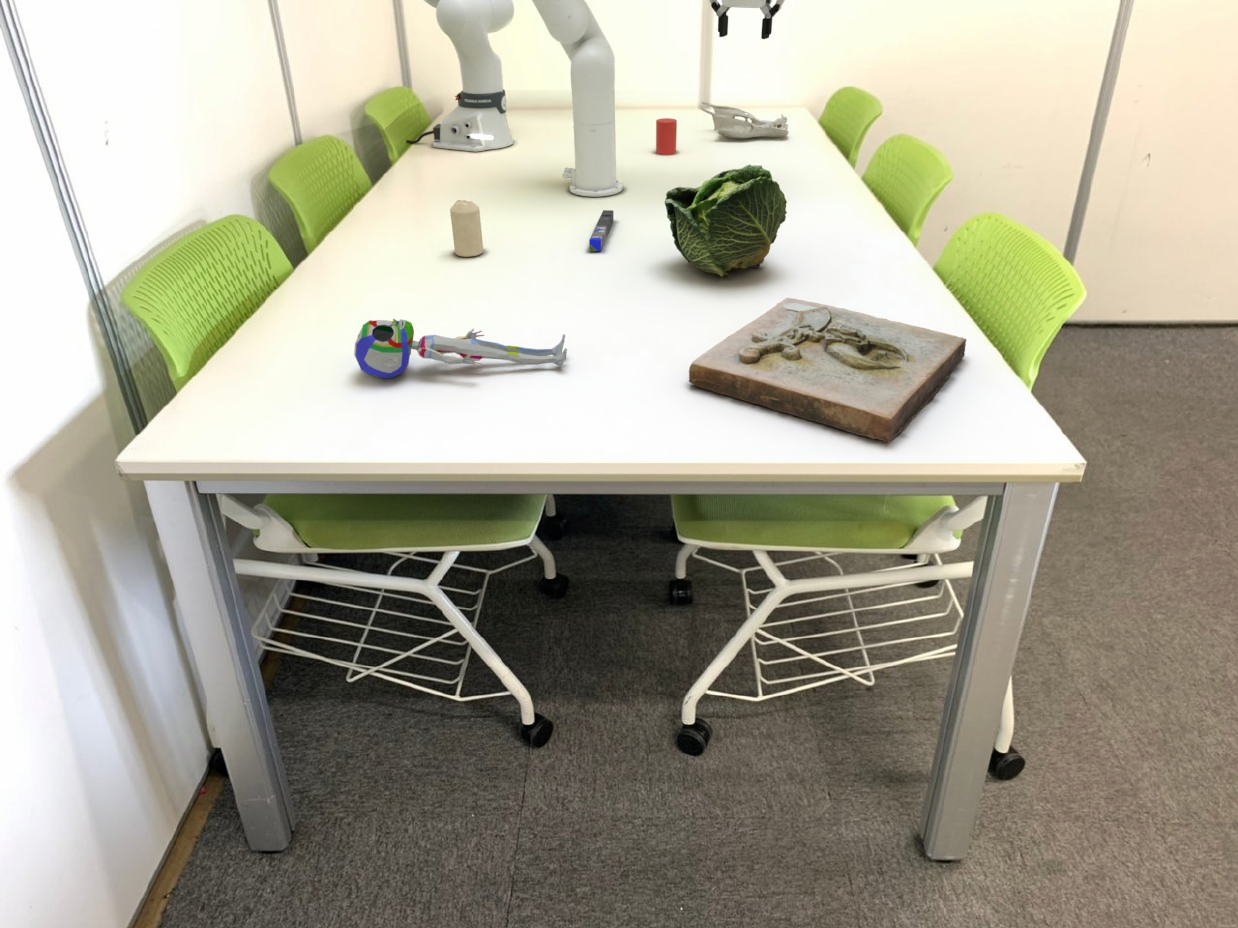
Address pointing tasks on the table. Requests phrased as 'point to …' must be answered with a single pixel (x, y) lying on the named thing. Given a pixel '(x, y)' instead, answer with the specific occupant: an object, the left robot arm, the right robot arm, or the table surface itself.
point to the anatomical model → (744, 123)
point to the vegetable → (727, 219)
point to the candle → (466, 228)
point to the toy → (435, 349)
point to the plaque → (832, 366)
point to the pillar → (601, 230)
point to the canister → (666, 136)
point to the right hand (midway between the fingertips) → (744, 37)
